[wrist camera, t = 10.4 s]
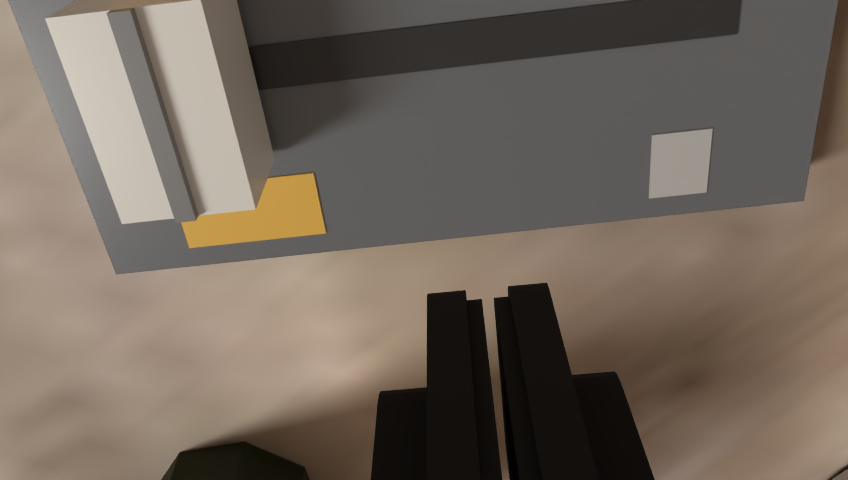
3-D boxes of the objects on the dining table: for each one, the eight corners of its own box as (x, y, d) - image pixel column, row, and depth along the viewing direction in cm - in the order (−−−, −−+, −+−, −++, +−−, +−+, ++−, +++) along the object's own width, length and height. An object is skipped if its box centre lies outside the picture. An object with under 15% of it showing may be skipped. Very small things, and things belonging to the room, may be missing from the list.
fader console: (845, -272, 21) (887, -279, 19) (779, 176, 28) (804, 201, 26) (-16, -157, 22) (-54, -153, 20) (133, 246, 29) (115, 275, 27)
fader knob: (229, -29, 21) (197, 2, 18) (274, 159, 24) (253, 214, 21) (96, -12, 21) (39, 21, 18) (157, 172, 24) (118, 229, 21)
